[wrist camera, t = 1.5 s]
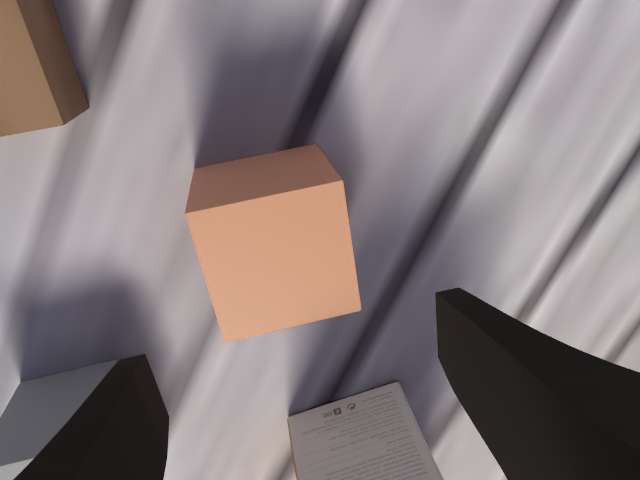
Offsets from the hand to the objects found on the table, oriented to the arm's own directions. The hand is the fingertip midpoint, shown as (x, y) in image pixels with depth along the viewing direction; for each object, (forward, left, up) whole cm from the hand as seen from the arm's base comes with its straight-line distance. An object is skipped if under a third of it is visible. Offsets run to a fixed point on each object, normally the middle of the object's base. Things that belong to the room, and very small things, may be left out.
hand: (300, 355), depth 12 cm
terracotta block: (0, 0, -10) cm, 10 cm away
